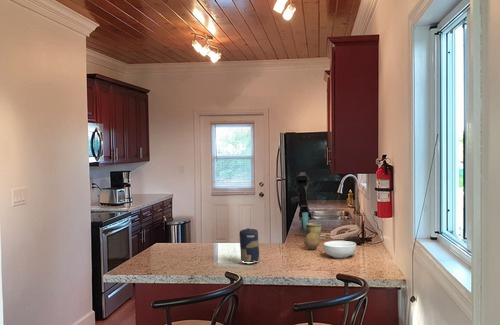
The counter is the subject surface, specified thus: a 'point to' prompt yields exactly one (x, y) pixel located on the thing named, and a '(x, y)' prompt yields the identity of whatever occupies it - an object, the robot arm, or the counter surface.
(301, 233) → the walnut base
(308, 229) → the ceramic cup
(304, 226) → the teal post
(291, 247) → the counter surface
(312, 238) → the natural sponge
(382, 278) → the counter surface
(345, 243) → the cereal bowl
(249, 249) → the canister
